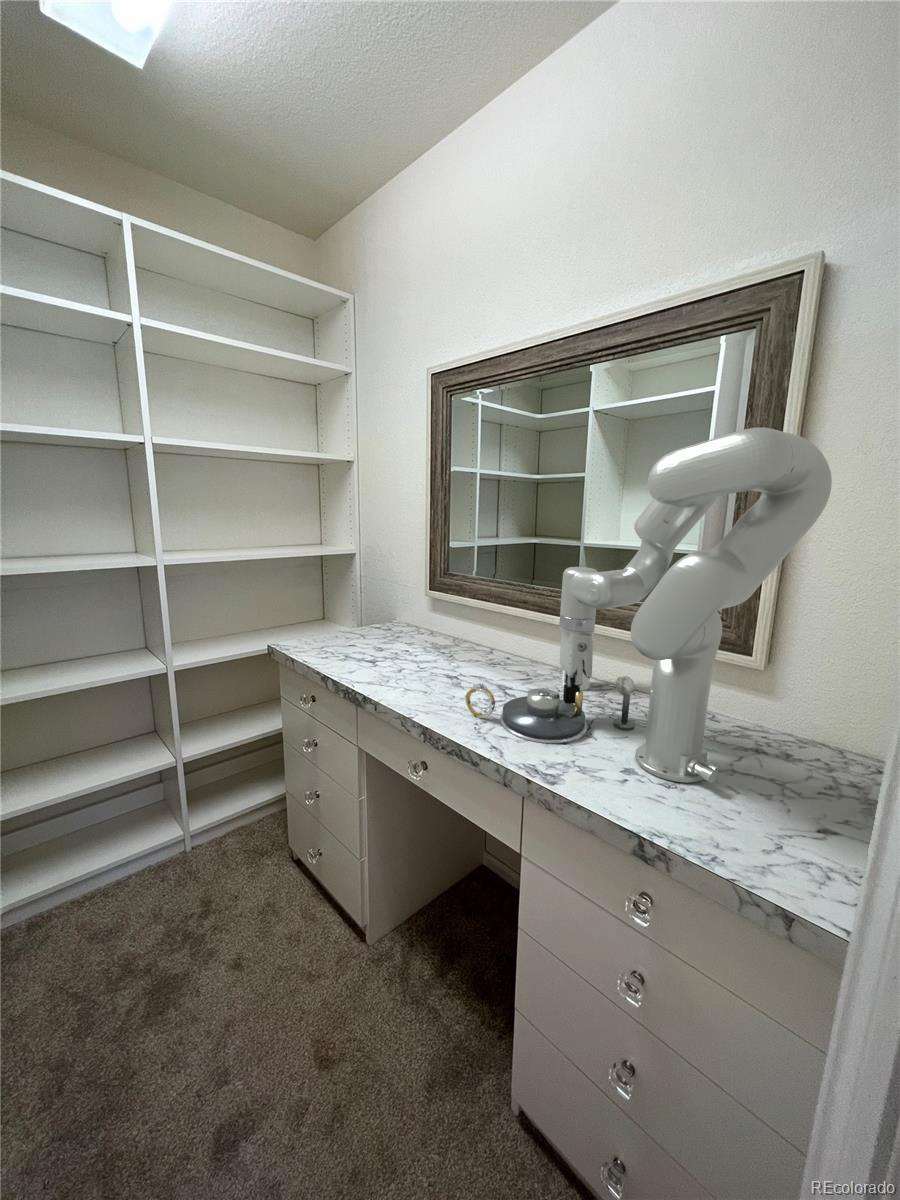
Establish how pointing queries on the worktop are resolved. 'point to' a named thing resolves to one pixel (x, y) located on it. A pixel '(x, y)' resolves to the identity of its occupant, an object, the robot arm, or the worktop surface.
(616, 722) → the ball topped stand
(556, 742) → the base
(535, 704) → the cover
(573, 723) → the turntable
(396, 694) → the worktop surface
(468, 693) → the bracelet
